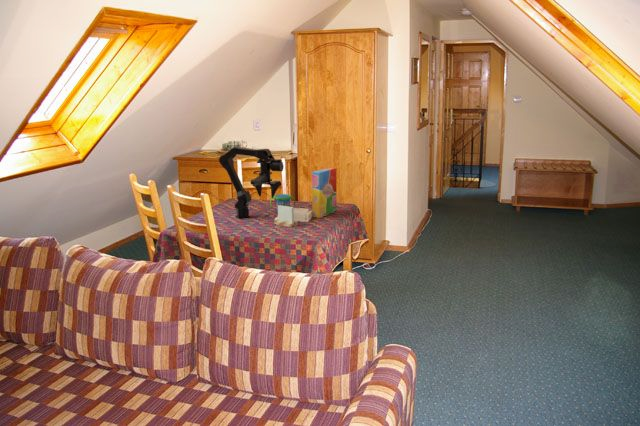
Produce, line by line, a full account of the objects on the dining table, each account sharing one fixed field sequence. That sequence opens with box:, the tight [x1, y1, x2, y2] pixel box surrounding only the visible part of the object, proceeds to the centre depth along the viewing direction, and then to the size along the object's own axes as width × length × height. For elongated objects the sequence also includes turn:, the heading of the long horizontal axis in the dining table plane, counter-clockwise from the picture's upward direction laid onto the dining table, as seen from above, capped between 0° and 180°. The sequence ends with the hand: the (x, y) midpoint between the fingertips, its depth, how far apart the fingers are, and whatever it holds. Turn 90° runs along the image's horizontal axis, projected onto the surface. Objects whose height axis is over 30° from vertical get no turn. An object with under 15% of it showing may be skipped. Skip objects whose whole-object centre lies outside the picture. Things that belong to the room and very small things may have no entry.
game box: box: [311, 167, 338, 219], centre depth 344 cm, size 21×6×27 cm, turn 149°
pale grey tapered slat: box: [277, 205, 295, 225], centre depth 322 cm, size 10×2×10 cm, turn 55°
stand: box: [273, 220, 299, 228], centre depth 323 cm, size 12×6×2 cm, turn 55°
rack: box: [274, 207, 313, 223], centre depth 336 cm, size 20×12×5 cm, turn 80°
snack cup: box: [269, 193, 296, 213], centre depth 354 cm, size 16×10×10 cm
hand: (266, 197), depth 335 cm, fingers open, 9 cm apart
